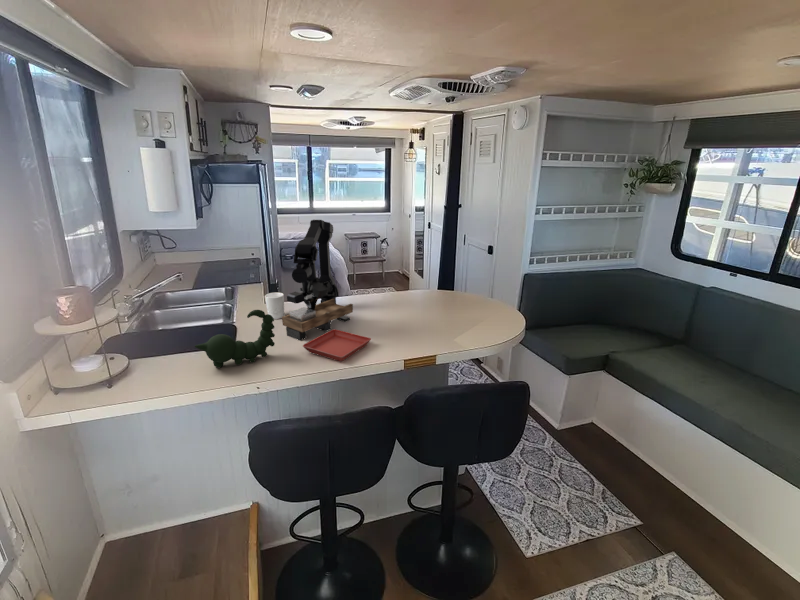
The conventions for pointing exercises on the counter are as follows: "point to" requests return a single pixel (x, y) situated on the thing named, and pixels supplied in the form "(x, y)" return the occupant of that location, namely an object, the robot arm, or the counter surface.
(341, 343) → the plant saucer
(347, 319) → the stand
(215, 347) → the toy figurine
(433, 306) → the counter surface
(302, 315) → the steel block
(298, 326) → the wooden tray
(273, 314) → the white cup
